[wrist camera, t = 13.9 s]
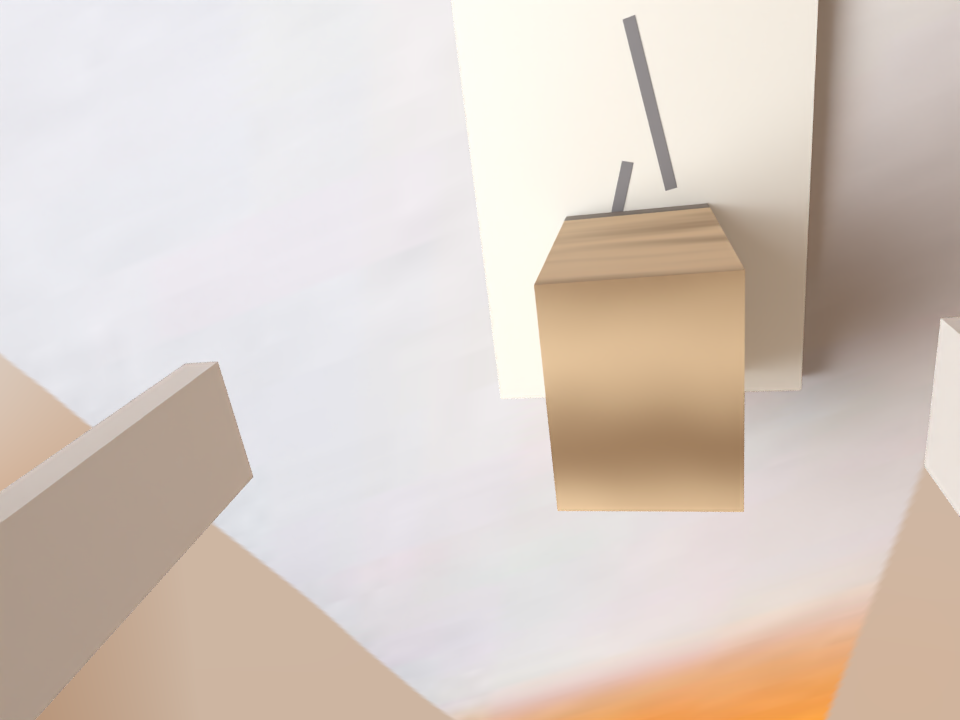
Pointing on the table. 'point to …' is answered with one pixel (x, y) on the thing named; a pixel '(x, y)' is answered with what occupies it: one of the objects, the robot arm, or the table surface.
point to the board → (641, 147)
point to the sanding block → (644, 361)
